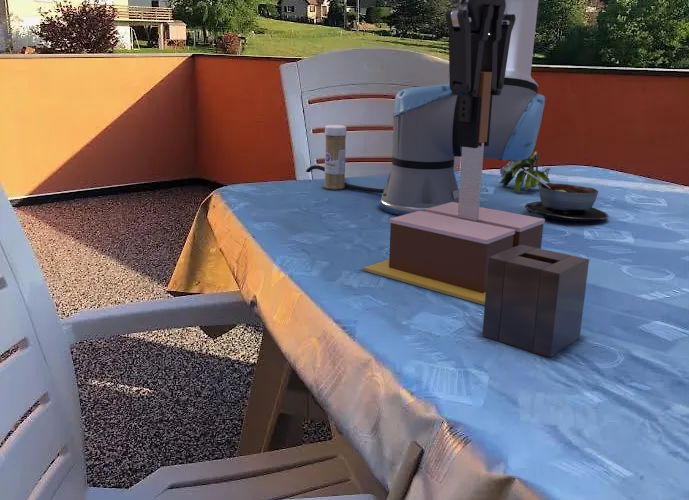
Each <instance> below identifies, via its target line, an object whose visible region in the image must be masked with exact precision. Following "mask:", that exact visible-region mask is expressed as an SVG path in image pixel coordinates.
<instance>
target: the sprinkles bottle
mask: <svg viewBox="0 0 689 500" xmlns="http://www.w3.org/2000/svg"><path fill="white" fill-rule="evenodd" d="M324 134H325V155H324V167H325V171H324V185H323V186H324V188H325V189H327V190H333V191H338V190H343V189H346V188H345V185H344V183H346V182H345V180H346V179H345V176H346V138H347V126H346V125H341V124H329V125H325V126H324Z"/></svg>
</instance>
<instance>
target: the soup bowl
mask: <svg viewBox="0 0 689 500" xmlns="http://www.w3.org/2000/svg"><path fill="white" fill-rule="evenodd" d="M524 172H525V173H527V174H529V175H531V176H532V177H533V178H535V179H536V180H537V181H538V182H539V183H540V185H539V186H538V188H539V189H538V190H539V191H538V192H539V198H540V200H539V201H532V202H527V203H526V204H524V208H525V210H526V211H527V212H528V213H530V214H531V213H535V214H537V215H539V216H542V217H544V218H548V219H554V220H558V221H560V220H561V221H568V222H593V221H600V220H606V219H607V218H609V214H608V213H607V212H606V211H603V210H601V209H598V208H597V207H593V206H594V204H595V202H596V200H597V198H598V196H599V195H598V194H599V189H595V188H593V187H588V186H581V185H575V184H568V183H553V182H550V183H549V182H546V183H545V182H544V181H543V180H542V179H540V180H539V179H538V178H536V177H535V176H534V175H532V174H531V173H529V172H528V171H524Z"/></svg>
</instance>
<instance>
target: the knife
mask: <svg viewBox="0 0 689 500" xmlns="http://www.w3.org/2000/svg"><path fill="white" fill-rule="evenodd" d="M491 81H492V72H480V81H479V89H478V94H477V96H476V97H481V111H480V125H479V139H478V148H469V147H462V157H460V159H461V160H460V172H459V173H460V176H459V187H458V189H459V203H458V218H459V219H464V220H469V221H474V222H478V219H479V207H481V205H480V204H481V190H482V178H483V165H484V164H483V162H484V158H483V152H484V142H487V133H488V120H489V107H490V94H491Z"/></svg>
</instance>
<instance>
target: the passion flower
mask: <svg viewBox="0 0 689 500" xmlns="http://www.w3.org/2000/svg"><path fill="white" fill-rule="evenodd" d="M536 147H537V145H536V144H535V147H534V150H533V152H532V155H531V156H530V157H528V158H527V159H524V160H508V161H509V162H507V163H506V164H505V165H504V166H503V167H501V168H500V169H499V174H500V177H501V180H500V181H499V184H501V187H504V188H505V187H508V185H509V183H511V181H513V179H514V178H515V180H514V191H515V192H516V193H517V194H518V195H519V194H520V193H521V189H522V186H523V185H524V191H528V190H529V189H531V188H533V189H534V188H536V187H539V185H540V183H539V182H538V181H537V180H536V179H535V178H533V177H532V176H531V175H529V174H527V173H525V172H524V171H528V172H529V173H531V174H532V175H534V176H535V177H536V178H538V179H539V180H542V181H543V182H546V183H551V181H550V178H549V173H550V171H551V168H550V167H549V168H545V170H543V171H541V170H539V154H538V152H537V151H535V149H536ZM498 160H499V161H503V160H502V159H498ZM526 168H527V169H526ZM521 169H522V170H521ZM534 169H535V170H534ZM515 176H516V177H515ZM525 178H526V179H525Z"/></svg>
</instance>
